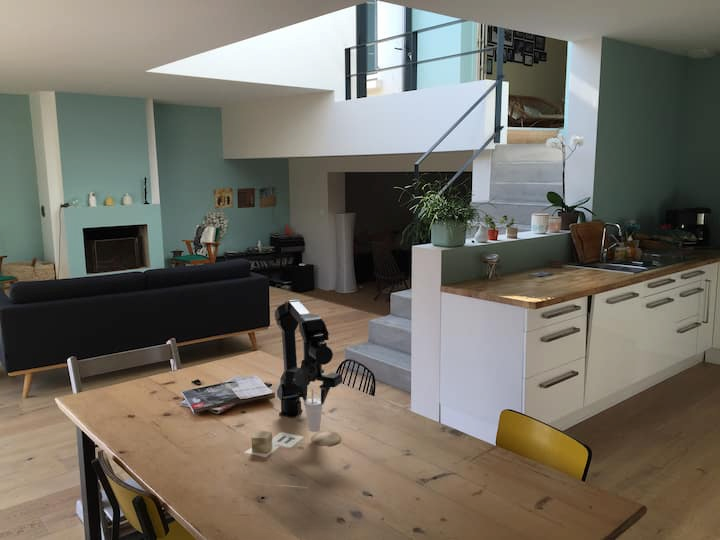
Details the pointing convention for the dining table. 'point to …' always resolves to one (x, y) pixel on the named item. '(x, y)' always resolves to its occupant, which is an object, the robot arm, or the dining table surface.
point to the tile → (263, 453)
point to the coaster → (326, 438)
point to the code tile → (286, 439)
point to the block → (261, 442)
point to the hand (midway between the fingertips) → (313, 402)
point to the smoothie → (313, 413)
